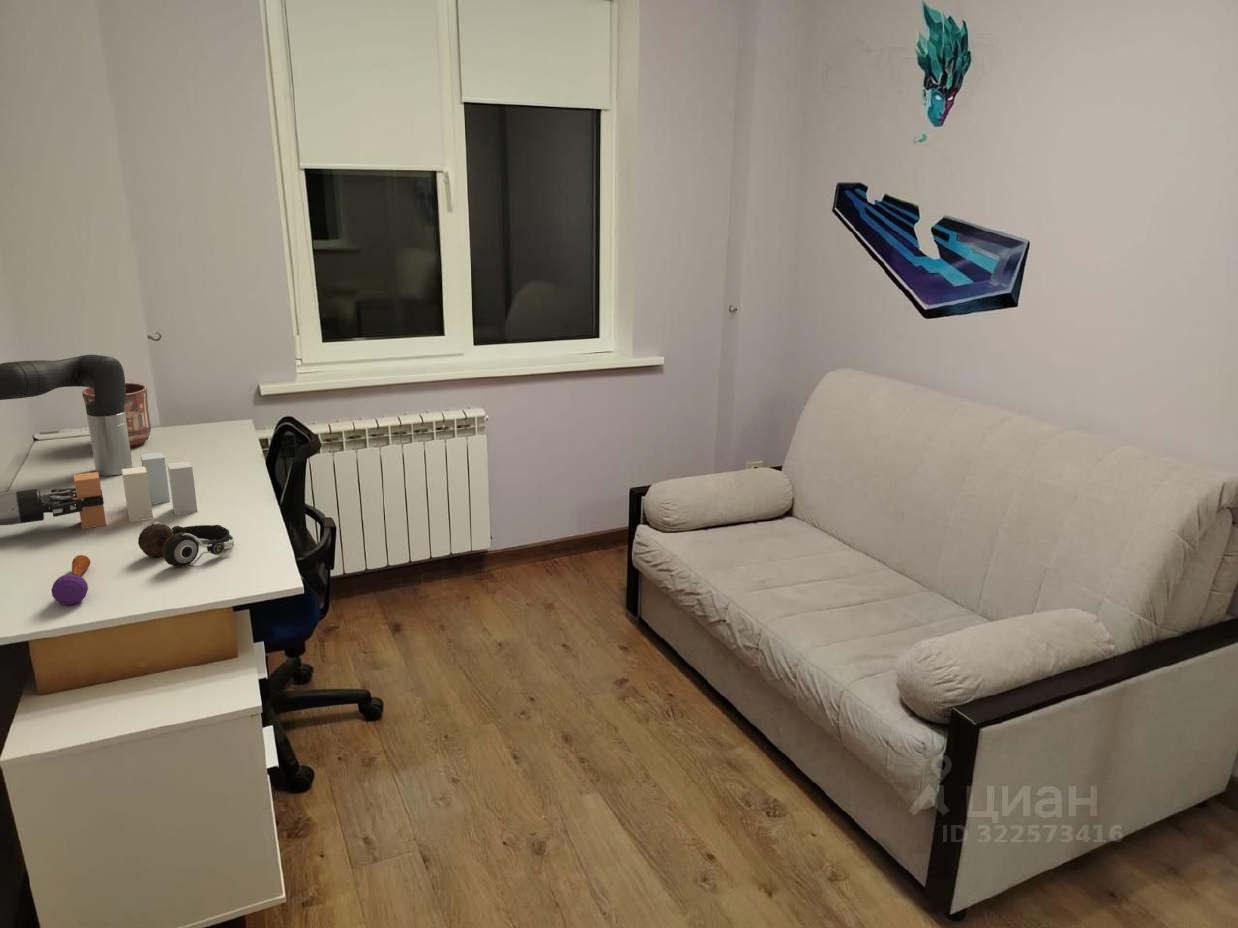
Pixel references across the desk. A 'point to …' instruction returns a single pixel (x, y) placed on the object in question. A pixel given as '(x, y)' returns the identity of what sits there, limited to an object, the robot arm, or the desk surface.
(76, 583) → the purple maraca
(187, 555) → the headset
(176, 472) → the grey block
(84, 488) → the rust block
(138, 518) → the cream block
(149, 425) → the pottery
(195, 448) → the desk surface
